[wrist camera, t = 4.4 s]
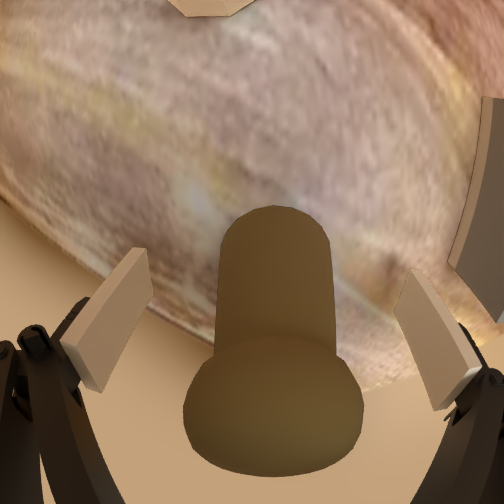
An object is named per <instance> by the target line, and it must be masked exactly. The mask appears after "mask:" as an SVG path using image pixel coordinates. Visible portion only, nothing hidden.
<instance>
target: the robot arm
mask: <svg viewBox="0 0 504 504" xmlns="http://www.w3.org/2000/svg"><path fill="white" fill-rule="evenodd" d="M153 294H154V293H153V287H152V281H151V275H150V269H149V262H148V255H147V248H138V247H133V248H132V249H131V250H130V251H129V252H128V253H127V254H126V256H125V257H124V258H123V259H122V260H121V261H120V263H119V264H118V265H117V266H116V267H115V269H114V270H113V271H112V272H111V273H110V275H109V276H108V277H107V278H106V279H105V281H104V282H103V283H102V285H101V286H100V287H99V288H98V289H97V291H96V292H95V293H94V295H93V296H92V297H91V298H89V297H85V298H83V299H82V300H80V301H79V302H78V303H76V304H75V306H74V307H73V308H72V310H71V311H70V313H69V314H68V315H67V316H66V318H65V319H64V320H63V321H62V323H61V324H60V325H59V326H58V328H57V329H56V331H55V332H54V333H53V335H52V336H51V337H50V338H49V336H48V334H47V332H46V330H45V328H44V327H43V326H41V325H37V324H36V325H30V326H28V327H26V328H25V329H24V330H22V331H21V332H20V334H19V335H18V339H17V342H18V344H19V346H20V348H21V349H22V350H16V349H15V347H14V345H13V344H12V343H11V342H10V341H6V340H4V341H1V342H0V504H44V501H43V493H42V484H41V473H40V455H41V459H42V463H43V466H44V470H45V473H46V477H47V480H48V483H49V486H50V489H51V492H52V494H53V497H54V500H55V502H56V504H125V502H124V500H123V498H122V496H121V494H120V493H119V490H118V489H117V486H116V485H115V482H114V480H113V478H112V476H111V474H110V472H109V470H108V467H107V465H106V463H105V461H104V458H103V456H102V453H101V452H100V448H99V446H98V443H97V441H96V438H95V435H94V433H93V430H92V427H91V424H90V421H89V418H88V415H87V412H86V409H85V405H84V402H83V399H82V396H81V392H80V390H79V388H78V384H79V382H80V381H81V380H82V382H83V383H84V385H85V387H86V388H88V389H91V390H93V391H97V392H99V393H102V392H103V390H104V388H105V386H106V384H107V382H108V379H109V377H110V375H111V373H112V371H113V369H114V367H115V365H116V363H117V361H118V359H119V357H120V355H121V353H122V351H123V349H124V347H125V346H126V344H127V342H128V340H129V338H130V336H131V334H132V332H133V330H134V328H135V327H136V325H137V323H138V321H139V319H140V317H141V316H142V314H143V312H144V310H145V308H146V306H147V305H148V303H149V301H150V299H151V298H152V296H153ZM394 313H395V315H396V318H397V320H398V322H399V324H400V326H401V329H402V331H403V333H404V335H405V338H406V340H407V342H408V345H409V347H410V349H411V352H412V354H413V357H414V359H415V362H416V364H417V367H418V369H419V372H420V374H421V377H422V380H423V382H424V385H425V387H426V390H427V393H428V396H429V399H430V402H431V405H432V408H433V411H437V410H442V409H447V408H448V407H449V406H450V405H451V404H452V402H453V401H454V400H455V402H456V405H457V406H456V407H455V408H454V409H453V410H452V411H451V412H450V413H449V414H448V415H447V416H446V417H445V419H444V421H446V420H447V419H448V418H449V417H450V420H449V422H448V425H447V428H446V431H445V433H444V436H443V438H442V441H441V444H440V446H439V448H438V450H437V453H436V455H435V457H434V459H433V461H432V464H431V466H430V468H429V470H428V472H427V474H426V476H425V478H424V480H423V482H422V484H421V485H420V487H419V489H418V491H417V493H416V494H415V496H414V498H413V500H412V501H411V503H410V504H504V375H503V374H502V373H501V372H500V371H499V370H497V369H494V368H489V367H488V365H487V363H486V362H485V360H484V358H483V356H482V354H481V353H480V351H479V349H478V347H477V346H476V344H475V342H474V340H473V339H472V337H471V335H470V334H469V332H468V331H467V329H466V328H465V327H464V326H463V325H462V324H460V323H457V321H456V320H455V318H454V316H453V315H452V313H451V312H450V310H449V309H448V307H447V306H446V304H445V303H444V301H443V300H442V298H441V297H440V295H439V294H438V292H437V291H436V289H435V288H434V286H433V285H432V284H431V282H430V281H429V279H428V278H427V277H426V275H425V274H424V273H423V271H422V270H415V269H410V270H409V273H408V276H407V279H406V281H405V284H404V287H403V289H402V292H401V294H400V297H399V299H398V302H397V304H396V307H395V309H394ZM13 390H14V393H13ZM12 394H13V396H12Z"/></svg>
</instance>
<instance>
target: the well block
mask: <svg viewBox="0 0 504 504" xmlns="http://www.w3.org/2000/svg"><path fill="white" fill-rule="evenodd" d="M447 262H448V263H449V264H450V265H451V266H452V267H453V269H454V270H455V271H456V272H457V273H458V275H459V276H460V277H461V278H462V279H463V281H464V282H465V283H466V284H467V285H468V287H469V288H470V289H471V290H472V292H473V293H474V294H475V296H476V297H477V298H478V299H479V301H480V302H481V303H482V305H483V306H484V307H485V309H486V310H487V311H488V313H489V314H490V316H491V317H492V318H493V320H494V321H495V323H496V324H497V323H504V99H499V98H490V97H483V100H482V113H481V124H480V132H479V140H478V147H477V153H476V159H475V164H474V170H473V175H472V179H471V184H470V188H469V192H468V197H467V201H466V204H465V208H464V212H463V215H462V219H461V222H460V226H459V229H458V232H457V235H456V238H455V241H454V244H453V247H452V250H451V253H450V256H449V258H448V261H447Z"/></svg>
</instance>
